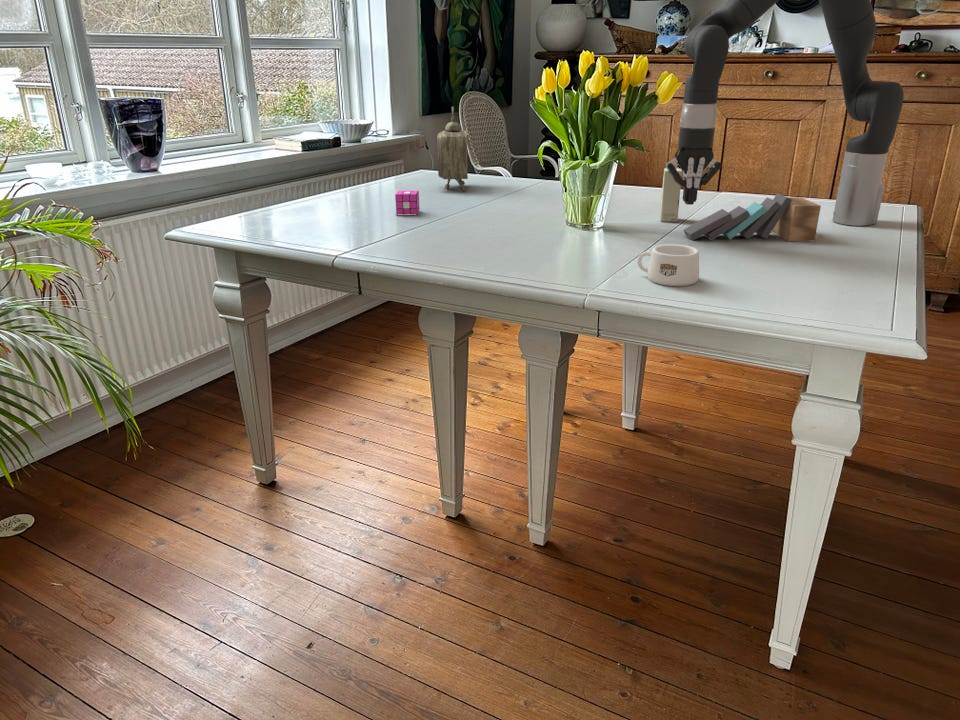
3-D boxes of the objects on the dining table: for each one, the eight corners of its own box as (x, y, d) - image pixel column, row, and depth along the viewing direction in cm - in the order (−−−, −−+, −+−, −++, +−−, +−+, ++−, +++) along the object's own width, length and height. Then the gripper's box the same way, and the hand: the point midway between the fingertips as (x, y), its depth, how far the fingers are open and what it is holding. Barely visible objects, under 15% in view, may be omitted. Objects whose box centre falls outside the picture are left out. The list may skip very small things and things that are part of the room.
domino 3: (722, 234, 170) (757, 206, 168) (730, 239, 165) (766, 211, 163) (718, 229, 169) (754, 201, 167) (726, 234, 165) (763, 206, 163)
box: (677, 222, 182) (682, 171, 177) (659, 221, 183) (664, 170, 178) (676, 218, 187) (681, 167, 182) (659, 217, 188) (663, 167, 182)
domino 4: (740, 234, 170) (771, 201, 167) (748, 239, 166) (780, 206, 163) (735, 230, 170) (767, 197, 167) (743, 235, 165) (776, 201, 162)
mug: (703, 276, 140) (706, 246, 137) (691, 290, 132) (695, 258, 130) (643, 269, 145) (645, 240, 143) (628, 282, 137) (631, 251, 135)
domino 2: (704, 235, 170) (741, 211, 168) (711, 240, 165) (750, 216, 163) (701, 229, 169) (739, 205, 167) (708, 234, 165) (747, 210, 163)
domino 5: (757, 233, 170) (782, 196, 167) (766, 238, 166) (792, 200, 162) (752, 230, 170) (777, 193, 167) (760, 235, 165) (786, 197, 162)
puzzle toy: (417, 215, 193) (416, 194, 191) (396, 215, 193) (395, 194, 191) (419, 211, 198) (418, 190, 196) (399, 211, 199) (398, 190, 196)
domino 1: (685, 235, 170) (724, 214, 168) (692, 240, 165) (732, 219, 164) (683, 229, 169) (722, 208, 168) (690, 234, 164) (730, 213, 163)
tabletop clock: (467, 193, 222) (466, 108, 212) (438, 193, 222) (435, 108, 212) (467, 184, 235) (466, 104, 225) (440, 185, 235) (437, 104, 225)
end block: (794, 230, 173) (800, 197, 170) (814, 240, 164) (820, 205, 161) (770, 230, 173) (775, 197, 170) (788, 241, 164) (794, 206, 160)
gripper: (672, 127, 153) (665, 207, 160) (733, 126, 154) (723, 206, 161) (663, 123, 160) (656, 201, 167) (721, 123, 161) (711, 200, 168)
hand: (689, 203), depth 164 cm, fingers closed
